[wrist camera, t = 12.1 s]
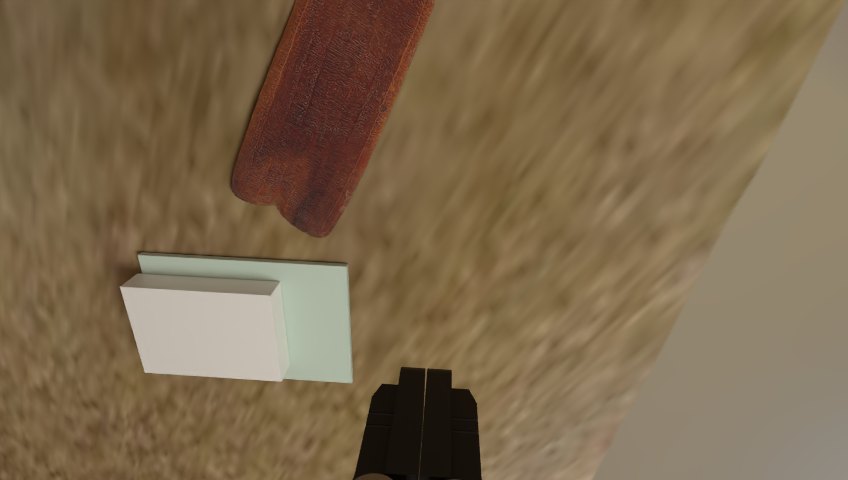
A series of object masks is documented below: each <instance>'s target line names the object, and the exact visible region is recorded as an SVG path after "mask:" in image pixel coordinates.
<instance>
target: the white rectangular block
mask: <svg viewBox="0 0 848 480" xmlns="http://www.w3.org/2000/svg"><path fill="white" fill-rule="evenodd" d="M120 289H121V292H122V295H123V299H124V302H125V306H126V309H127V313H128V316H129V320H130V323H131V326H132V330H133V333H134V337H135V340H136V344H137V347H138V350H139V354H140V357H141V361H142V364H143V368H144V371H145V372H146V373H161V374H176V375H191V376H206V377H221V378H236V379H251V380H266V381H281V382H282V380H283V378H284V376H285V374H286V372H287V370H288V368H289V366H290V361H289V353H288V344H287V336H286V327H285V319H284V310H283V302H282V293H281V285H280V282H276V281H258V280H241V279H224V278H206V277H189V276H171V275H154V274H136V275H135V276H133V277H132V278H131V279H129V280H128V281H127V282H126V283H124V284H123V285H122V286H120Z"/></svg>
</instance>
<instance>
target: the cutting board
mask: <svg viewBox="0 0 848 480" xmlns="http://www.w3.org/2000/svg"><path fill="white" fill-rule="evenodd" d="M138 259H139V262H140V266H141V270H142V274H154V275H171V276H189V277H206V278H224V279H241V280H258V281H276V282H280V285H281V293H282V302H283V310H284V319H285V327H286V336H287V344H288V353H289V361H290V366H289V368H288V370H287V372H286V374H285V376H284V378H283V379H298V380H313V381H328V382H343V383H352V381H353V368H352V345H351V323H350V300H349V278H348V264H344V263H326V262H308V261H290V260H272V259H254V258H236V257H218V256H200V255H182V254H164V253H146V252H141V253H140V254H138Z"/></svg>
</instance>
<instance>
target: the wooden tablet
mask: <svg viewBox="0 0 848 480" xmlns="http://www.w3.org/2000/svg"><path fill="white" fill-rule="evenodd" d="M433 6H434V0H296V2H295V5H294V7H293V10H292V13H291V16H290V18H289V20H288V24H287V26H286V28H285V31H284V34H283V37H282V39H281V41H280V43H279V46H278V48H277V51H276V54H275V56H274V59H273V62H272V64H271V67H270V69H269V72H268V74H267V77H266V80H265V82H264V85H263V87H262V90H261V92H260V95H259V98H258V101H257V104H256V107H255V109H254V112H253V114H252V117H251V121H250V124H249V127H248V129H247V133H246V136H245V137H244V141H243V143H242V146H241V149H240V152H239V154H238V158H237V162H236V164H235V168H234V171H233V176H232V182H231V188H232V192H233V193H234V194H235V196H237V197H238V198H240V199H241V200H243V201H247V202H250V203H251V204H255V205H262V206H267V205H275V206H276V207H277V209H278V210H279V211H280V213H281V214H282V216H283V217H284V218H285V219H286V220H287V221H288V222H290V223H291V224H292V225H294V226H295V227H296V228H298V229H299V230H301V231H303V232H305V233H307V234H309V235H310V236H313V237H318V238H321V237H326V236H328V235H329V234H330V233H331V231H332V230H333V228H334V226H335V225H336V223H337V221H338V220H339V218H340V216H341V215H342V213H343V211H344V210H345V208H346V206H347V204H348V202H349V200H350V198H351V196H352V194H353V192H354V190H355V189H356V187H357V185H358V183H359V180H360V179H361V177H362V175H363V173H364V170H365V168H366V166H367V164H368V161H369V159H370V157H371V155H372V153H373V151H374V148H375V146H376V144H377V142H378V140H379V137H380V135H381V133H382V131H383V128H384V126H385V123H386V120H387V118H388V115H389V113H390V111H391V109H392V106H393V103H394V101H395V99H396V97H397V94H398V92H399V90H400V88H401V85H402V83H403V80H404V78H405V75H406V72H407V70H408V68H409V65H410V63H411V61H412V58H413V55H414V53H415V50H416V48H417V45H418V43H419V41H420V38H421V36H422V33H423V31H424V28H425V25H426V23H427V21H428V19H429V16H430V14H431V11H432V9H433Z"/></svg>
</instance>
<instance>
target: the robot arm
mask: <svg viewBox="0 0 848 480" xmlns="http://www.w3.org/2000/svg"><path fill="white" fill-rule="evenodd" d="M424 392H425V368H411V367H401V371H400V377H399V384H398V385H392V384H382V385H381V386H380V387H379V388H378V390H377V391H376V392H375V393H374V395H373V396H372V399H371V404H370V408H369V414H368V417H367V422H366V427H365V431H364V435H363V440H362V444H361V449H360V453H359V458H358V462H357V467H356V471H355V475H354V478H353V480H482V478H481V462H480V447H479V435H478V432H479V431H478V415H477V403H476V401H475V399H474V398H473V396H472V394H471V393H470V391H469V389H454V388H452V371H451V370H443V369H427V380H426V394H425V407H424ZM423 414H424V420H423ZM422 430H423V433H422ZM421 443H422V446H421ZM420 456H421V459H420ZM419 469H420V472H419Z"/></svg>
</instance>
